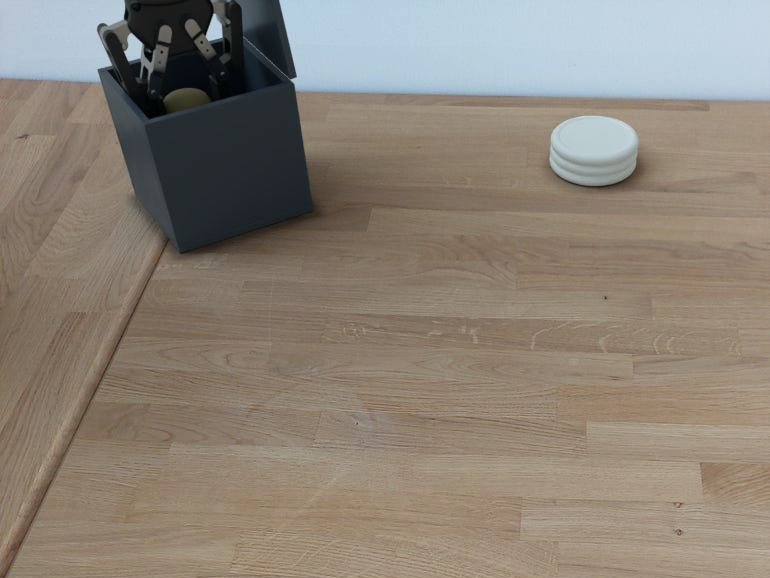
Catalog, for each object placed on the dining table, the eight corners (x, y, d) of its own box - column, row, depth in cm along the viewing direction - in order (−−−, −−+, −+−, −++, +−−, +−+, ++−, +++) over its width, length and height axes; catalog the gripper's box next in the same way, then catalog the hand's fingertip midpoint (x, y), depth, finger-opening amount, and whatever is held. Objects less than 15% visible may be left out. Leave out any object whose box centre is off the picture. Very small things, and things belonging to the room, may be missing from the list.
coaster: (652, 163, 112) (657, 132, 109) (600, 198, 107) (603, 167, 105) (584, 135, 116) (587, 104, 113) (531, 167, 111) (532, 136, 109)
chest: (180, 253, 101) (144, 124, 91) (135, 195, 108) (96, 68, 97) (313, 210, 106) (294, 83, 95) (262, 157, 113) (239, 32, 102)
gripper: (85, -38, 82) (141, 159, 96) (241, -71, 87) (273, 121, 100) (58, -66, 86) (115, 127, 99) (209, -96, 90) (244, 92, 104)
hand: (194, 123), depth 100 cm, fingers open, 5 cm apart
